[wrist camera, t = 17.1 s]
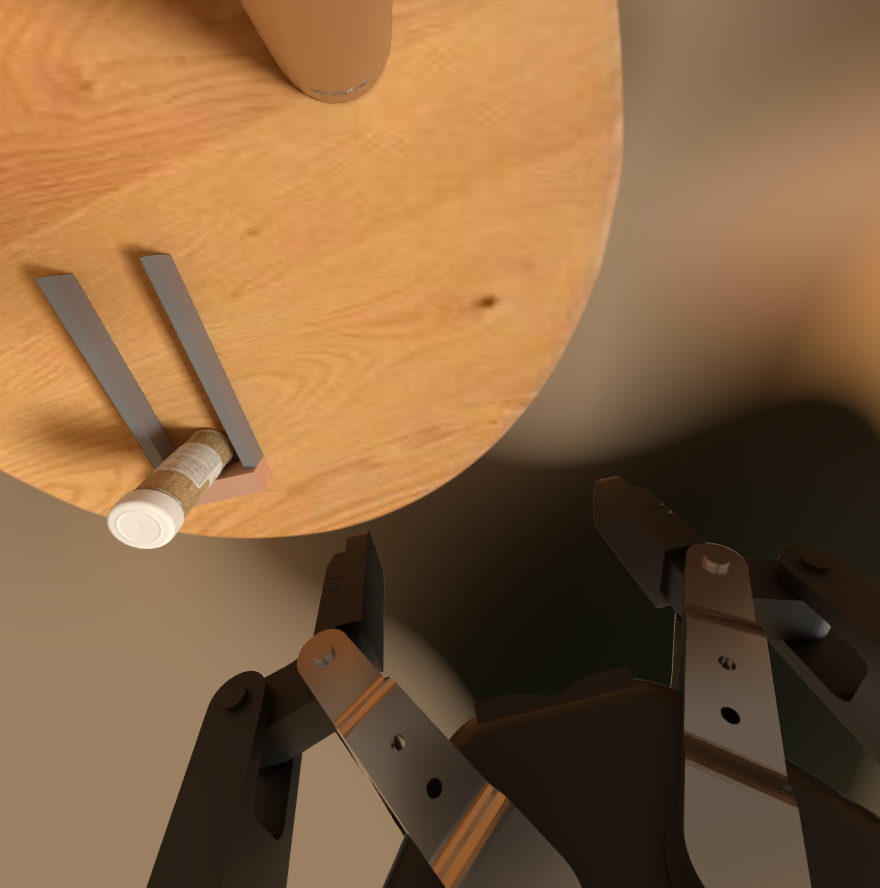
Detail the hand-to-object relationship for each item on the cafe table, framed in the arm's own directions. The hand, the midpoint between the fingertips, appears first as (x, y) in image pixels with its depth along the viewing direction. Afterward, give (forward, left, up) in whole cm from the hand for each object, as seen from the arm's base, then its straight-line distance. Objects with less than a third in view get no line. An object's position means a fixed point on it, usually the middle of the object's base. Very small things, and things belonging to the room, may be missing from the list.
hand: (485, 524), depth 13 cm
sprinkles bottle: (+6, -24, -28) cm, 37 cm away
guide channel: (-1, -24, -28) cm, 37 cm away
